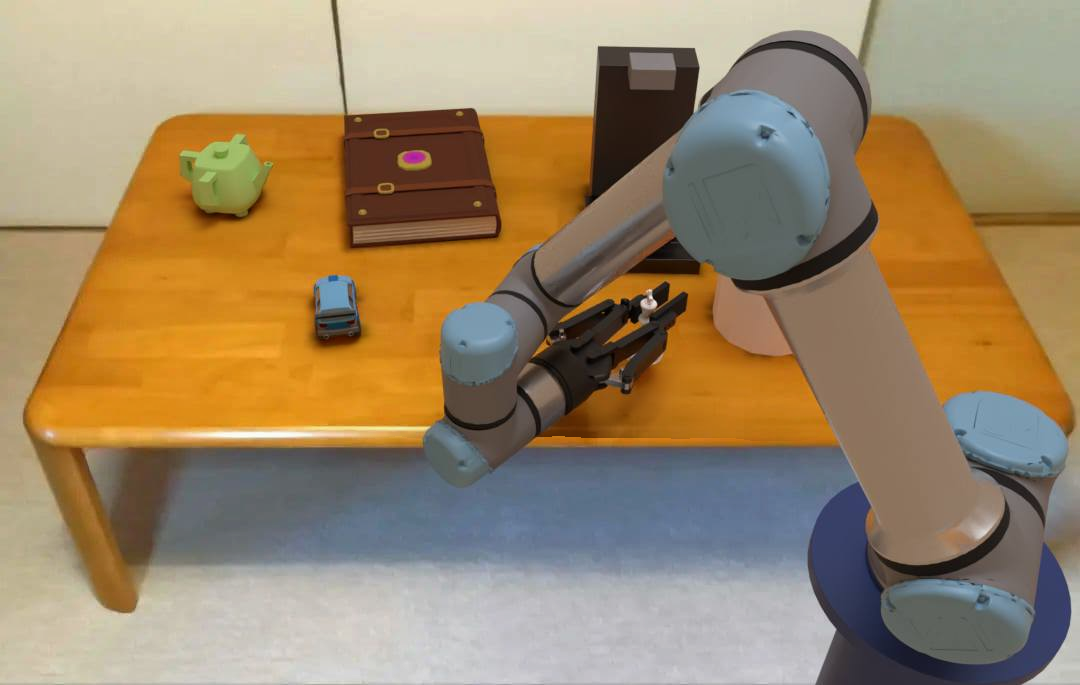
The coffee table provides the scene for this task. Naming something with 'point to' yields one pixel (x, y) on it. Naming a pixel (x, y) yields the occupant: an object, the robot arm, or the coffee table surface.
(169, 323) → the coffee table surface
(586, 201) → the drip pan
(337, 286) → the toy car
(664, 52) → the column
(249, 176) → the teapot
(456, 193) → the book
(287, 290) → the coffee table surface
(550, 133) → the coffee table surface
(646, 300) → the chess piece
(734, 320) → the container
